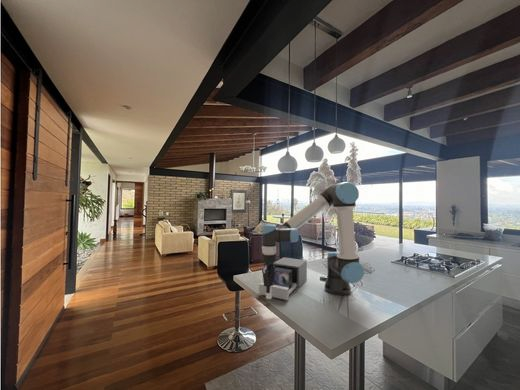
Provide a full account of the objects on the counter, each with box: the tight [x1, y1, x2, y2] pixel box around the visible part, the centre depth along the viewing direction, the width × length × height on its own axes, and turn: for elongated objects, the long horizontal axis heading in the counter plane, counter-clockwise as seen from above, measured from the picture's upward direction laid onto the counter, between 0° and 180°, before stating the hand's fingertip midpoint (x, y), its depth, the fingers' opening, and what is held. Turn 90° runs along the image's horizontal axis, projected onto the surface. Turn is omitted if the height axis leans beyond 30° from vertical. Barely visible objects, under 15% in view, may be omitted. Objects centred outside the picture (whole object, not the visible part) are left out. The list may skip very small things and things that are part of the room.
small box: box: [273, 268, 292, 289], centre depth 133 cm, size 11×6×10 cm, turn 64°
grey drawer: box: [258, 282, 297, 301], centre depth 131 cm, size 17×21×6 cm
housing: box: [274, 257, 308, 290], centre depth 148 cm, size 17×18×14 cm
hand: (268, 298), depth 117 cm, fingers closed
